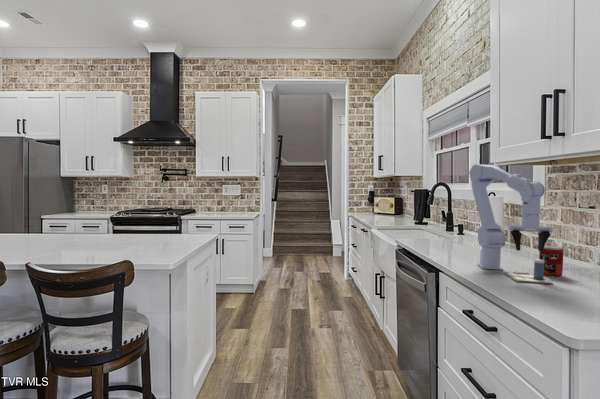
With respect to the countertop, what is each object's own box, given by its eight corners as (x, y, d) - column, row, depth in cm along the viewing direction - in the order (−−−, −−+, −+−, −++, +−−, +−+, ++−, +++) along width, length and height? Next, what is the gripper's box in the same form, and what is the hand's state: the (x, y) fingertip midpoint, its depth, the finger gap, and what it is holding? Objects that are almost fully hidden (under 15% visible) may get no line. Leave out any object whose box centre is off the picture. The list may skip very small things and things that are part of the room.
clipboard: (503, 273, 154) (503, 271, 154) (537, 275, 152) (537, 273, 152) (516, 282, 140) (516, 279, 140) (553, 284, 138) (553, 281, 138)
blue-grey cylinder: (532, 277, 145) (532, 258, 145) (541, 278, 144) (542, 259, 144) (535, 279, 142) (536, 260, 142) (544, 280, 141) (545, 260, 141)
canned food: (534, 273, 156) (535, 245, 156) (548, 272, 159) (549, 245, 159) (552, 277, 149) (553, 248, 149) (567, 276, 152) (568, 248, 152)
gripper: (513, 214, 144) (511, 251, 145) (557, 216, 141) (555, 253, 142) (507, 213, 151) (505, 248, 152) (548, 214, 148) (547, 250, 149)
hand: (529, 250), depth 147 cm, fingers open, 7 cm apart
